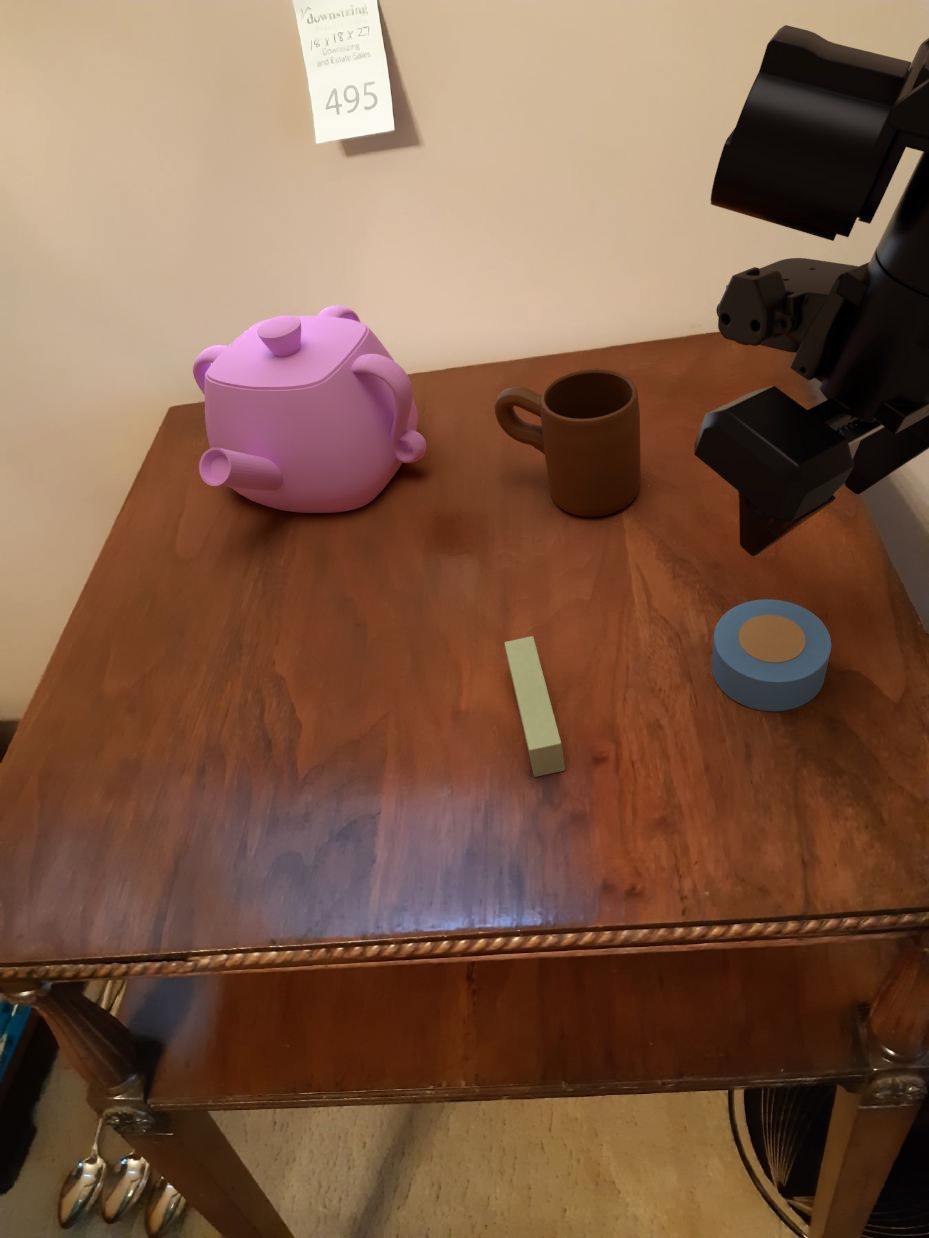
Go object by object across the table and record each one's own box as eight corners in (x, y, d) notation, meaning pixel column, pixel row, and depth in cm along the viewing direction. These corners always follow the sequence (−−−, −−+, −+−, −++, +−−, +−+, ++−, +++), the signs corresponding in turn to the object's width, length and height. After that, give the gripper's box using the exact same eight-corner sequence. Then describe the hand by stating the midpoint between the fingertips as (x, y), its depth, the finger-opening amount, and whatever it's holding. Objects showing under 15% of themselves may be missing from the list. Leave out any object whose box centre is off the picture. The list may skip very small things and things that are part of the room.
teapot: (398, 387, 87) (363, 251, 77) (455, 499, 73) (421, 349, 63) (221, 444, 86) (161, 312, 75) (243, 570, 71) (173, 427, 61)
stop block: (537, 664, 59) (533, 635, 56) (565, 770, 52) (561, 743, 50) (509, 670, 59) (504, 641, 56) (534, 777, 52) (528, 750, 50)
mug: (488, 503, 72) (470, 409, 65) (523, 451, 76) (510, 358, 69) (623, 527, 67) (619, 428, 60) (653, 470, 71) (652, 371, 64)
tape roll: (798, 620, 57) (803, 588, 55) (843, 698, 52) (852, 667, 50) (697, 641, 58) (698, 610, 55) (733, 721, 53) (736, 691, 50)
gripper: (917, 144, 44) (801, 390, 56) (658, 235, 36) (591, 494, 49) (1118, 245, 38) (941, 491, 51) (864, 374, 31) (730, 624, 44)
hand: (802, 518), depth 49 cm, fingers open, 9 cm apart
